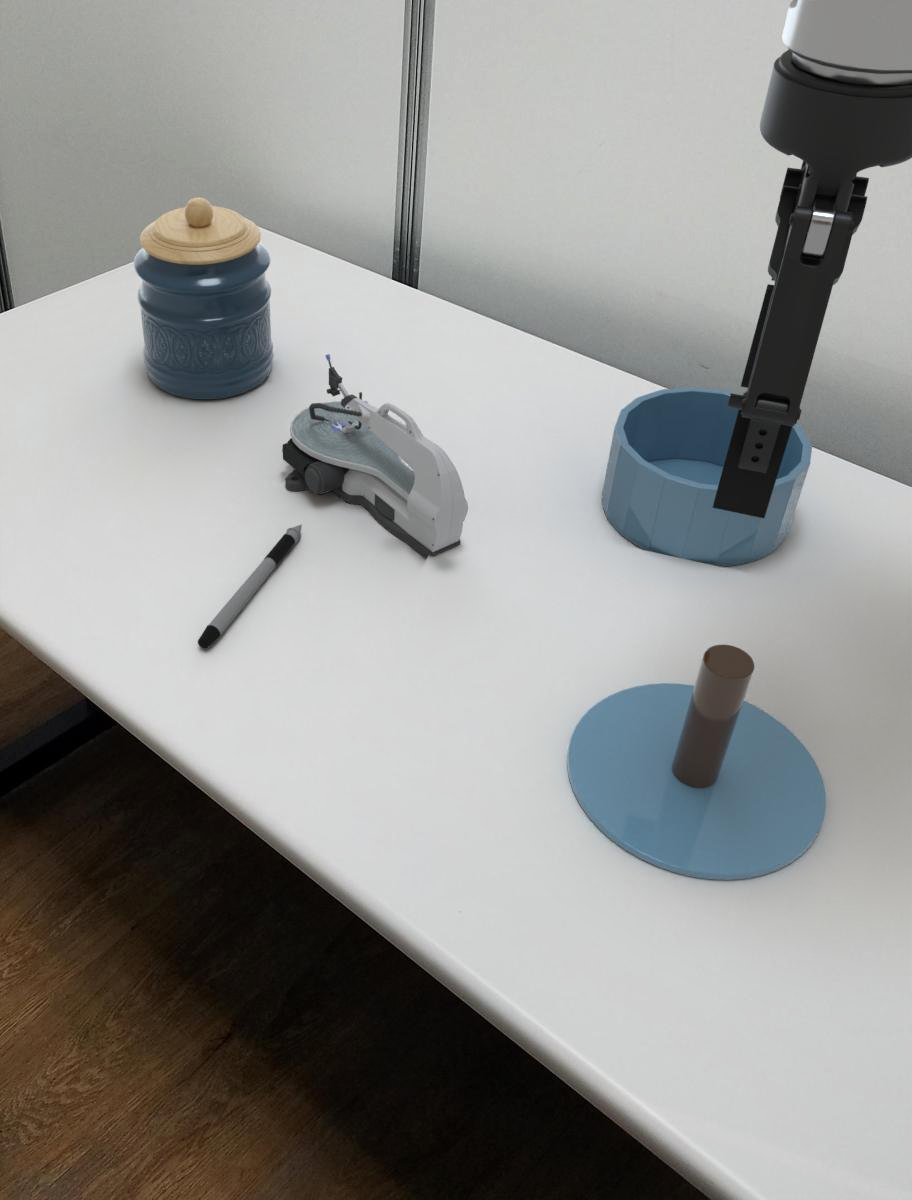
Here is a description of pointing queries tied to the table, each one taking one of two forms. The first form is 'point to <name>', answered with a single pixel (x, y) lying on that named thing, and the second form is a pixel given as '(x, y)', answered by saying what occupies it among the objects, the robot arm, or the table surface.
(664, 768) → the bowl lid
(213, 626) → the pen
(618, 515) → the bowl
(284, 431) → the table surface
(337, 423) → the scroll saw
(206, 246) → the canister
